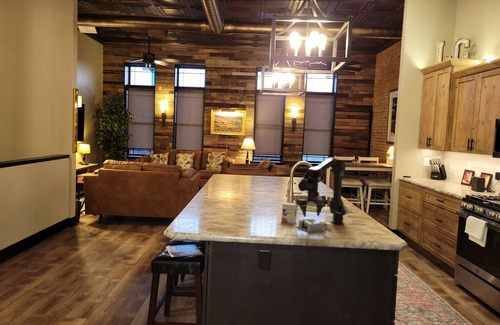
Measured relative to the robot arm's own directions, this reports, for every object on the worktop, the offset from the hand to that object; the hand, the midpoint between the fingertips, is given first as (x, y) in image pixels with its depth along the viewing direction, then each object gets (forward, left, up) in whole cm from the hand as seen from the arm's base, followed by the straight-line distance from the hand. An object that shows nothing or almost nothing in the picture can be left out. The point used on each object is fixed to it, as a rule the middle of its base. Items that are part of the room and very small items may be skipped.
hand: (311, 216), depth 219 cm
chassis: (0, 0, -8) cm, 8 cm away
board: (0, 0, -5) cm, 5 cm away
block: (-1, +11, -8) cm, 14 cm away
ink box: (-21, -3, -8) cm, 23 cm away
